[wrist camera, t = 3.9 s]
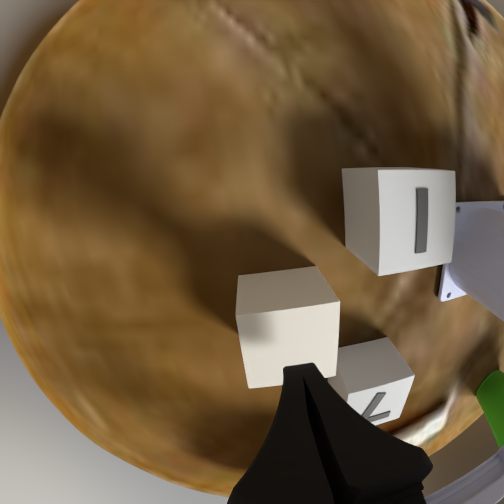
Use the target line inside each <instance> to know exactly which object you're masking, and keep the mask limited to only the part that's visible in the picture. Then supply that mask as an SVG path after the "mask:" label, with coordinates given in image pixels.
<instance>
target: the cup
mask: <svg viewBox="0 0 504 504" xmlns="http://www.w3.org/2000/svg"><path fill="white" fill-rule="evenodd" d="M476 395H477V399H478V401H479V403H480V405H481V407H482V409H483V411H484V414H485V416H486V418H487V420H488V422H489V425H490V427H491V429H492V432H493V434H494V436H495V439H496V441H497V444H498V446H499V449H500V448H501V447H502V446H503V445H504V373H503V372H501V371H498V370H495V371H494V372H492V373H491V374H490V375H489V376H488V377H487V378H486V379H485V380H484V381H483V382H482V384H481V385H480V387H479V388H478V390H477V393H476Z"/></svg>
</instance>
